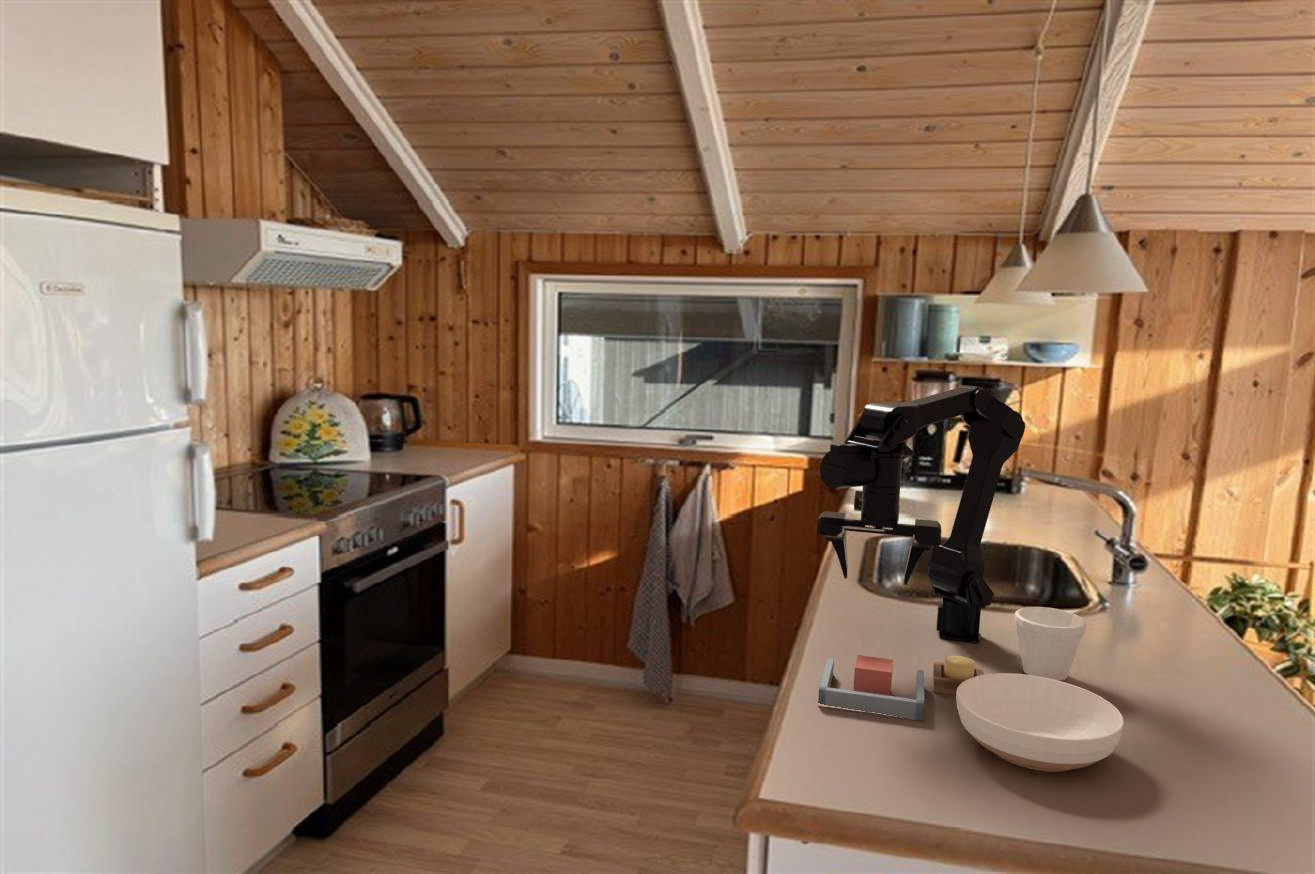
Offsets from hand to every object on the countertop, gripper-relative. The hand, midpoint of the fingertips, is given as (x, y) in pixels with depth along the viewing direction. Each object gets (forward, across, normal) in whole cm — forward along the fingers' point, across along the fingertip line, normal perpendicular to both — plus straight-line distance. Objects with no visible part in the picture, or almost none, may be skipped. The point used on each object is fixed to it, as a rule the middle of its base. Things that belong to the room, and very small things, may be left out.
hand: (875, 580), depth 146 cm
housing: (+12, -13, +9) cm, 20 cm away
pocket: (+12, -1, +17) cm, 21 cm away
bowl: (+12, -22, +27) cm, 36 cm away
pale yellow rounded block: (+11, -13, +9) cm, 19 cm away
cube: (+12, -1, +17) cm, 21 cm away
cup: (+12, -26, 0) cm, 29 cm away
